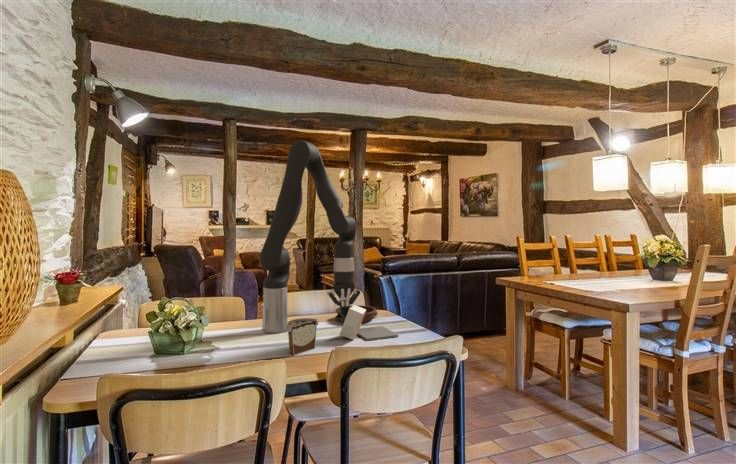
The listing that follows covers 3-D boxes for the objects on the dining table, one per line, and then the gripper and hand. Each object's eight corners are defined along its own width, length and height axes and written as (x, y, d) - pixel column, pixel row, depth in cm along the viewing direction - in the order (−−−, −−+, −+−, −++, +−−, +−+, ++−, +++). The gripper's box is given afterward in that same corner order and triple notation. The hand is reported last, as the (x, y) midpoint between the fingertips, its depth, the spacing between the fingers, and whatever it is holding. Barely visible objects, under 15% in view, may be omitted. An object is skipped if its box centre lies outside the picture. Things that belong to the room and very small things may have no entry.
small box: (353, 340, 154) (363, 314, 153) (339, 334, 155) (349, 308, 154) (357, 334, 162) (367, 309, 161) (344, 329, 163) (353, 304, 162)
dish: (323, 320, 185) (323, 308, 185) (363, 313, 199) (363, 302, 199) (347, 328, 172) (347, 316, 172) (388, 320, 186) (388, 309, 186)
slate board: (366, 340, 154) (366, 338, 154) (352, 331, 167) (352, 329, 167) (398, 337, 159) (398, 334, 159) (382, 328, 172) (382, 326, 172)
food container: (305, 344, 149) (305, 316, 149) (318, 347, 145) (318, 318, 145) (278, 352, 140) (277, 322, 139) (290, 356, 136) (290, 325, 135)
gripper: (356, 267, 163) (356, 312, 163) (323, 269, 157) (323, 315, 158) (364, 270, 156) (364, 316, 156) (330, 271, 150) (330, 320, 151)
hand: (343, 316), depth 157 cm, fingers closed
